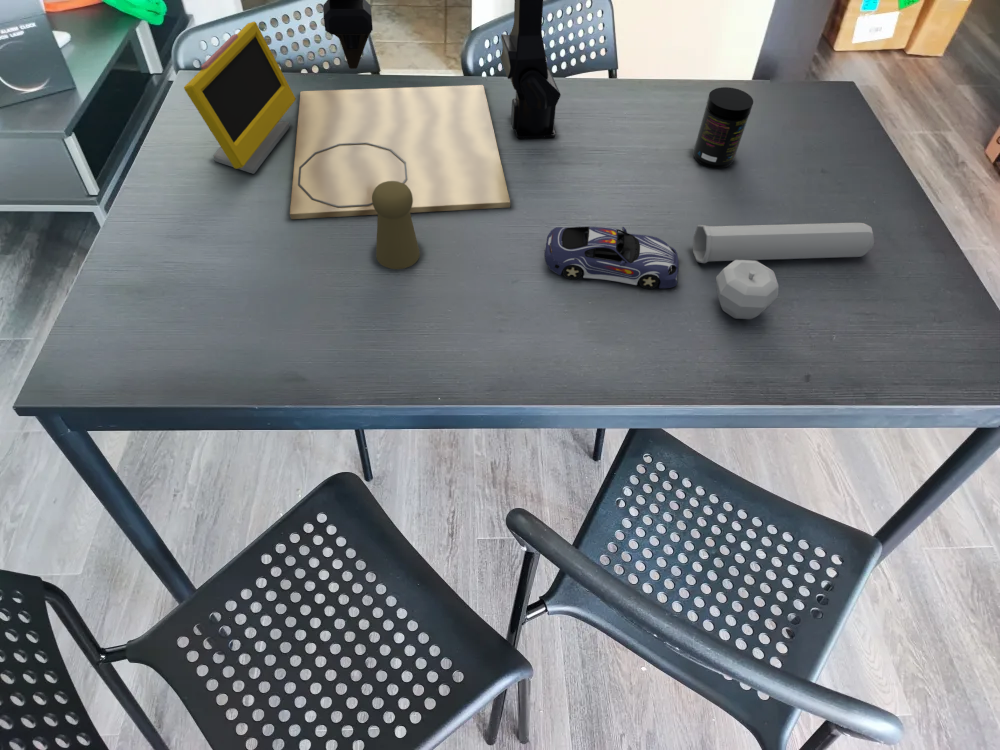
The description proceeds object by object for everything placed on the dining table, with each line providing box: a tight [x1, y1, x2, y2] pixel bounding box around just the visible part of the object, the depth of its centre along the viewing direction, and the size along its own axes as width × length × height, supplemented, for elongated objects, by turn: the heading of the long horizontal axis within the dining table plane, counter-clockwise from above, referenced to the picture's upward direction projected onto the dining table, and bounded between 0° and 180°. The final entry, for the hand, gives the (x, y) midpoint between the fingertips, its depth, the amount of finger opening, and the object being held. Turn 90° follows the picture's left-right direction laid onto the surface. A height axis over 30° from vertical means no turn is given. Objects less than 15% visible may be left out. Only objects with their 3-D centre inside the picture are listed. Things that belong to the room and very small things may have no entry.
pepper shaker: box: [372, 181, 421, 270], centre depth 93 cm, size 6×6×11 cm
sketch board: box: [289, 84, 511, 220], centre depth 113 cm, size 32×34×1 cm
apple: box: [715, 260, 779, 320], centre depth 90 cm, size 8×8×7 cm
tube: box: [692, 222, 875, 264], centre depth 98 cm, size 5×5×25 cm
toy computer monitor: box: [183, 21, 297, 174], centre depth 106 cm, size 20×8×16 cm, turn 168°
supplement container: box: [692, 86, 754, 169], centre depth 111 cm, size 7×7×10 cm
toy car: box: [543, 225, 680, 290], centre depth 96 cm, size 8×18×5 cm, turn 82°
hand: (352, 52), depth 104 cm, fingers open, 9 cm apart
